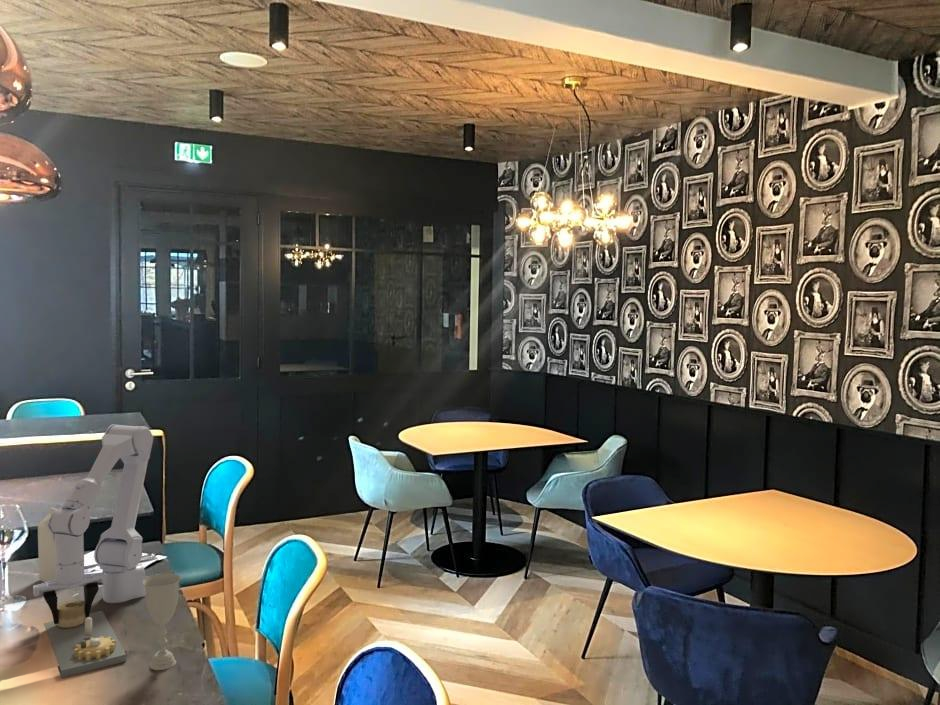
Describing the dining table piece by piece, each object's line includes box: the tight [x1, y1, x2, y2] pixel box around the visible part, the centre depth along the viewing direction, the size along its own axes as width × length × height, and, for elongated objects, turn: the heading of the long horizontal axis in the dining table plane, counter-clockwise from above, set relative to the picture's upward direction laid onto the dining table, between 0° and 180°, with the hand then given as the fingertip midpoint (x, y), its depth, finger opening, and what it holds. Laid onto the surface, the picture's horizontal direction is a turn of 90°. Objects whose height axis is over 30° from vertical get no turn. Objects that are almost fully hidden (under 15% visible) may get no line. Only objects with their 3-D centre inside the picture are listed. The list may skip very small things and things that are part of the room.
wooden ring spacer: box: [57, 599, 86, 628], centre depth 169 cm, size 6×6×4 cm
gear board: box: [44, 610, 127, 679], centre depth 162 cm, size 12×26×6 cm, turn 36°
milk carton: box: [37, 506, 58, 583], centre depth 198 cm, size 7×7×19 cm
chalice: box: [143, 573, 182, 671], centre depth 154 cm, size 7×7×18 cm
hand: (71, 619), depth 169 cm, fingers closed on wooden ring spacer, 6 cm apart
